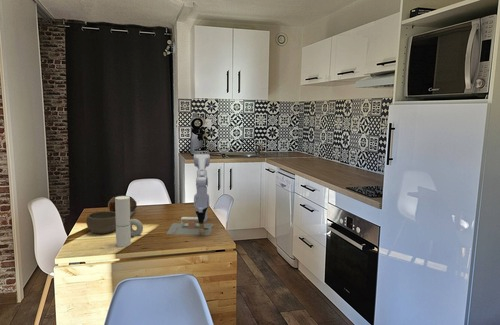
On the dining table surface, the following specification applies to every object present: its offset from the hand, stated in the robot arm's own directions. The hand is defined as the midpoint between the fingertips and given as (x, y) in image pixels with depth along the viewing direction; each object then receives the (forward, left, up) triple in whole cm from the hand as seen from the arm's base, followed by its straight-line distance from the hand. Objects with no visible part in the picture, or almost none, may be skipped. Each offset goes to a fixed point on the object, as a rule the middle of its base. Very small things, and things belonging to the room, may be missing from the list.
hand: (201, 221), depth 207 cm
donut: (+3, -37, -8) cm, 38 cm away
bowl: (-5, -57, -8) cm, 58 cm away
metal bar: (-5, -16, -7) cm, 18 cm away
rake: (-4, 0, -7) cm, 8 cm away
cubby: (-10, -8, -8) cm, 15 cm away
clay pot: (-40, -55, -8) cm, 69 cm away
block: (-12, -7, -7) cm, 15 cm away
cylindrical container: (+16, -39, -8) cm, 43 cm away
